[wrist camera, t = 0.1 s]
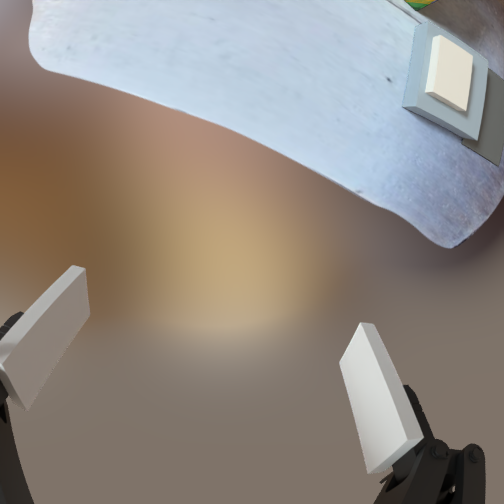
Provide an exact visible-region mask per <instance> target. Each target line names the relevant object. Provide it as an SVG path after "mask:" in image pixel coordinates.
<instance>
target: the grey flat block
mask: <svg viewBox="0 0 504 504" xmlns="http://www.w3.org/2000/svg"><path fill="white" fill-rule="evenodd" d="M438 35H442V36H443V37H445V38H447V39H448V40H450V41H451V42H453V43H455V44H456V45H458V46H459V47H461V48H462V49H464V50H465V51H466V52H468V53H469V54H471V55H472V56H473V62H472V73H471V82H470V89H469V96H468V103H467V109H466V111H457V110H456V109H454V108H452V107H451V106H449V105H447V104H445V103H444V102H442V101H440V100H438V99H437V98H435V97H433V96H431V95H429V94H427V93H425V89H426V84H427V78H428V71H429V65H430V57H431V50H432V41H433V37H435V36H438ZM487 73H488V60H487V59H485V58H484V57H483V56H481V55H480V54H479V53H477V52H476V51H475V50H473V49H472V48H471V47H469V46H468V45H466V44H465V43H463V42H462V41H460V40H459V39H457V38H456V37H454V36H453V35H451V34H450V33H448V32H447V31H445V30H443V29H442V28H440V27H438V26H437V25H435V24H433V23H432V22H430V21H426V22H424V23H422V24H420V25H418V26H416V27H415V32H414V40H413V47H412V54H411V60H410V67H409V72H408V78H407V83H406V89H405V94H404V99H403V104H402V107H403V108H406V109H408V110H410V111H412V112H414V113H416V114H418V115H421V116H423V117H425V118H427V119H429V120H431V121H433V122H435V123H437V124H438V125H440V126H442V127H444V128H446V129H448V130H450V131H451V132H453V133H455V134H457V135H458V136H460V137H462V138H467V139H473V140H478V135H479V130H480V125H481V119H482V113H483V107H484V100H485V92H486V84H487Z"/></svg>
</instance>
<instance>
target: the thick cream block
mask: <svg viewBox="0 0 504 504" xmlns="http://www.w3.org/2000/svg"><path fill="white" fill-rule="evenodd" d="M472 62H473V56H472V55H471V54H469V53H468V52H466V51H465V50H464V49H462V48H461V47H459V46H458V45H456V44H455V43H453V42H451V41H450V40H448V39H447V38H445V37H443V36H442V35H438V36H435V37H433V41H432V50H431V57H430V65H429V71H428V78H427V84H426V89H425V93H427V94H429V95H431V96H433V97H435V98H437V99H438V100H440V101H442V102H444V103H445V104H447V105H449V106H451V107H452V108H454V109H456V110H457V111H466V109H467V103H468V96H469V89H470V82H471V73H472Z"/></svg>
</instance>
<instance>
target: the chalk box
mask: <svg viewBox="0 0 504 504" xmlns="http://www.w3.org/2000/svg"><path fill="white" fill-rule="evenodd" d="M405 1H406V2H407V3H408V4H409V5H410V6H411V7H412V8H413V9H414V10H416V11H418V10H420V9H421V8H423V7H425V6H427V5H429V4H431V3H433V2H436V1H438V0H405Z"/></svg>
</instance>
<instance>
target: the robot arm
mask: <svg viewBox="0 0 504 504" xmlns="http://www.w3.org/2000/svg"><path fill="white" fill-rule="evenodd" d="M89 316H90V309H89V301H88V292H87V282H86V270H85V268H81V267H78V266H74V265H72V266H71V267H70V268H69V269H68V270H67V271H66V272H65V273H64V274H63V275H62V276H61V277H60V278H59V279H58V280H56V281H55V282H54V284H52V285H51V287H49V288H48V289H47V290H46V291H45V292H44V293H43V295H41V297H40V298H39V299H38V300H37V301H36V302H35V303H34V304H33V305H32V306H31V307H30V308H29V309H28V310H27V311H26V312H25V313H23V312H18V313H16V314H15V315H13V316H11V317H10V318H9V319H8V320H7V321H6V322H5V323H4V326H2V327H1V328H0V504H34V502H33V499H32V497H31V494H30V491H29V489H28V486H27V483H26V480H25V477H24V474H23V470H22V467H21V464H20V460H19V457H18V453H17V449H16V445H15V441H14V436H13V432H12V427H11V422H10V417H9V411H8V405H7V402H6V398H7V397H8V395H9V396H10V398H11V399H12V401H13V403H14V404H15V405H17V406H19V407H21V408H22V409H24V410H26V411H28V410H29V408H30V407H31V405H32V403H33V401H34V400H35V398H36V396H37V395H38V393H39V391H40V390H41V388H42V386H43V384H44V383H45V381H46V380H47V378H48V377H49V375H50V373H51V372H52V370H53V368H54V367H55V365H56V364H57V362H58V361H59V359H60V358H61V356H62V355H63V353H64V352H65V350H66V349H67V347H68V346H69V344H70V343H71V341H72V340H73V338H74V337H75V336H76V334H77V333H78V331H79V330H80V328H81V327H82V326H83V324H84V323H85V321H86V320H87V318H88V317H89ZM339 364H340V367H341V370H342V374H343V378H344V381H345V385H346V388H347V392H348V396H349V399H350V403H351V407H352V411H353V415H354V418H355V422H356V426H357V430H358V434H359V438H360V442H361V446H362V451H363V454H364V459H365V463H366V468H367V472H368V474H372V473H378V472H384V471H385V470H387V469H388V468H389V467H390V466H392V467H393V472H391V473H390V474H389V475H387V476H386V477H385V478H384V479H382V480H381V481H380V483H381V484H382V483H383V482H384V481H386V480H387V481H386V483H385V484H384V486H383V488H382V490H381V492H380V493H379V495H378V497H377V499H376V500H375V502H374V504H485V485H486V484H485V482H486V480H485V456H484V452H483V450H482V449H481V448H480V447H479V446H478V445H476V444H469V445H467V446H466V447H465V448H464V449H463V450H454V449H449V447H448V446H447V444H446V443H444V442H443V441H442V440H439V439H435V438H434V436H433V434H432V431H431V429H430V426H429V424H428V422H427V419H426V417H425V414H424V412H422V407H421V405H420V404H419V401H418V398H417V396H416V394H415V392H414V391H413V390H412V389H411V388H410V387H409V386H408V385H402V383H401V381H400V378H399V376H398V375H397V372H396V370H395V367H394V365H393V363H392V361H391V359H390V357H389V355H388V352H387V350H386V348H385V346H384V344H383V342H382V340H381V338H380V336H379V334H378V332H377V330H376V328H375V326H374V324H370V323H360V324H359V326H358V328H357V330H356V332H355V334H354V336H353V338H352V340H351V342H350V344H349V346H348V347H347V349H346V351H345V353H344V355H343V357H342V359H341V360H340V362H339ZM454 486H455V492H453V491H452V488H453V487H454Z"/></svg>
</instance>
